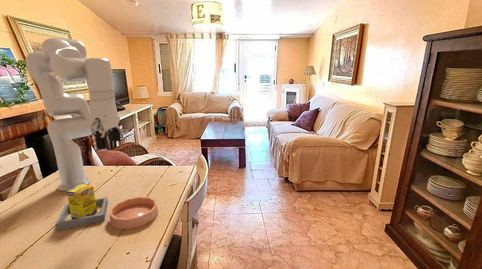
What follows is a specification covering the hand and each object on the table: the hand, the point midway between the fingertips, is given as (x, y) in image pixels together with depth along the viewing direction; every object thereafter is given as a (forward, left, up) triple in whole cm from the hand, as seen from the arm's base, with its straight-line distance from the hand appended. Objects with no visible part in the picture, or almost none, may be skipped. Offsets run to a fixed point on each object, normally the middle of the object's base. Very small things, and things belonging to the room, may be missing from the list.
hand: (109, 144), depth 88 cm
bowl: (+6, +6, -26) cm, 27 cm away
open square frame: (-2, -12, -26) cm, 28 cm away
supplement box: (-2, -11, -26) cm, 29 cm away
